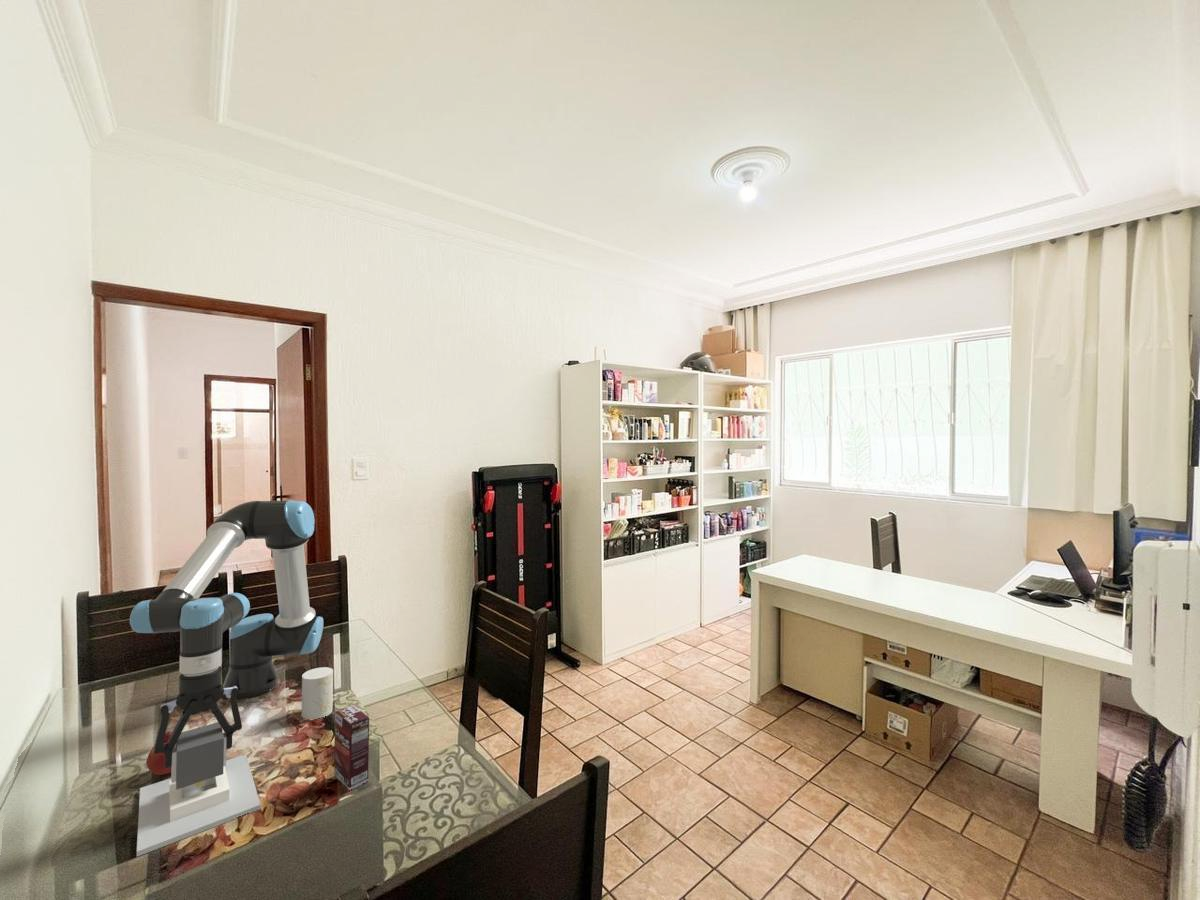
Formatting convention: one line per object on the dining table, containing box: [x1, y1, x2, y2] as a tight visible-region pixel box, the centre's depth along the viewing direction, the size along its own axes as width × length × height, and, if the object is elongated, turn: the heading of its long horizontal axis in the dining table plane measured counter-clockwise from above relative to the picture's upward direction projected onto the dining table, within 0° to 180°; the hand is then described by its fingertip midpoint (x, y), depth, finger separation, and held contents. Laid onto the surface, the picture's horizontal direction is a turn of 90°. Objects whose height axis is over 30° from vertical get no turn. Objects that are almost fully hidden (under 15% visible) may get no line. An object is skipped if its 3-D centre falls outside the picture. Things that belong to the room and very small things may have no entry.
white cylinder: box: [301, 666, 334, 719], centre depth 151 cm, size 8×8×12 cm
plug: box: [176, 721, 224, 790], centre depth 112 cm, size 9×8×10 cm
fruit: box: [146, 731, 176, 776], centre depth 122 cm, size 8×8×10 cm
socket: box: [136, 754, 261, 857], centre depth 113 cm, size 24×20×4 cm
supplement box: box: [333, 704, 370, 791], centre depth 121 cm, size 9×5×16 cm, turn 50°
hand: (199, 771), depth 112 cm, fingers closed on plug, 8 cm apart
